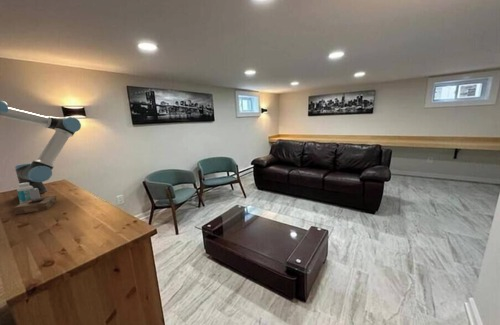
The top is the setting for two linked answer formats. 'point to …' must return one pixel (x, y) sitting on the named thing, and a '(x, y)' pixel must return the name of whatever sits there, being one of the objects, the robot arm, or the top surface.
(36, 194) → the peg
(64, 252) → the top surface
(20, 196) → the pill bottle
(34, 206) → the socket block
